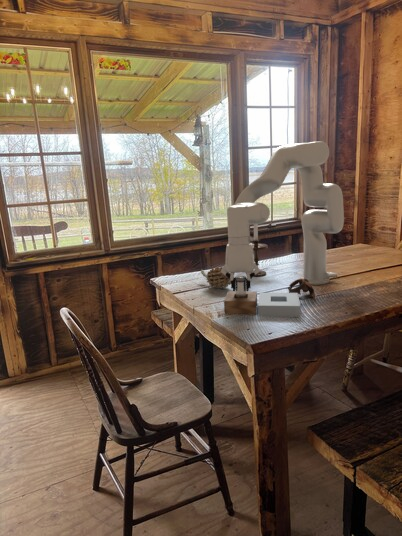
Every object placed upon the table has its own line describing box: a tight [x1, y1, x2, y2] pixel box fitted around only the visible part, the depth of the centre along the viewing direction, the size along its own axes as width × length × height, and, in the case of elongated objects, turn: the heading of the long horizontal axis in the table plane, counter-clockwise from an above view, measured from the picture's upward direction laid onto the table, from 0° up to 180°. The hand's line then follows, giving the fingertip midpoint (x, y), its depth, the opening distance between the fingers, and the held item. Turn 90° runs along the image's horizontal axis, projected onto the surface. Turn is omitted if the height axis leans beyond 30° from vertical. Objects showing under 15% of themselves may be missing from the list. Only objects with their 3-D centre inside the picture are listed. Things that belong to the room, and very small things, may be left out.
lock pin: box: [234, 275, 247, 298], centre depth 134 cm, size 4×4×12 cm
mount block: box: [223, 290, 258, 316], centre depth 135 cm, size 11×11×5 cm
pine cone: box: [200, 266, 231, 289], centre depth 164 cm, size 22×10×10 cm, turn 38°
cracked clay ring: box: [287, 278, 316, 300], centre depth 145 cm, size 12×10×8 cm
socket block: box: [257, 292, 301, 318], centre depth 132 cm, size 14×14×4 cm
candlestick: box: [250, 224, 268, 278], centre depth 176 cm, size 11×11×35 cm
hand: (240, 289), depth 134 cm, fingers closed on lock pin, 4 cm apart
